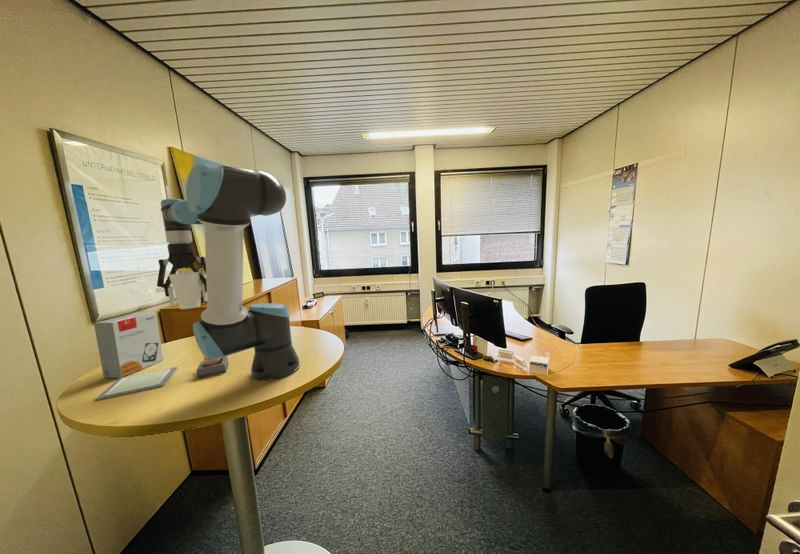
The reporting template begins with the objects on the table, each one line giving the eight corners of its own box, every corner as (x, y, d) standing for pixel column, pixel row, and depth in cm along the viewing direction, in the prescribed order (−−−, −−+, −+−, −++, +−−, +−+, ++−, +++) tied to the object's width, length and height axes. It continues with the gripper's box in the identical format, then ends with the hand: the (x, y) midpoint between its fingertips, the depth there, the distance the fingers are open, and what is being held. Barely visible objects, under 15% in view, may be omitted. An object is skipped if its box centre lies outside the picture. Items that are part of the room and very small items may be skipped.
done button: (219, 364, 97) (218, 356, 97) (203, 368, 96) (202, 359, 95) (221, 360, 102) (220, 352, 101) (206, 363, 100) (205, 355, 99)
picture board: (163, 386, 89) (163, 383, 89) (95, 400, 83) (95, 398, 83) (177, 368, 103) (176, 366, 103) (119, 379, 96) (119, 377, 96)
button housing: (225, 372, 97) (224, 364, 97) (197, 378, 94) (196, 369, 93) (228, 363, 104) (227, 356, 104) (202, 369, 101) (201, 361, 100)
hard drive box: (120, 378, 97) (109, 323, 94) (102, 378, 98) (91, 323, 96) (164, 359, 112) (156, 311, 110) (148, 359, 113) (140, 311, 111)
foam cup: (188, 310, 100) (183, 274, 99) (168, 310, 102) (162, 275, 101) (211, 304, 109) (206, 270, 108) (192, 304, 111) (186, 271, 110)
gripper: (217, 241, 111) (225, 297, 114) (145, 245, 102) (156, 305, 104) (214, 241, 104) (222, 300, 107) (137, 244, 95) (148, 309, 98)
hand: (189, 302), depth 106 cm, fingers closed on foam cup, 9 cm apart
